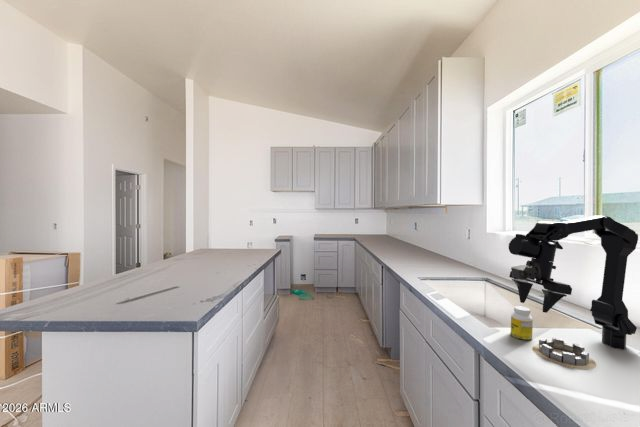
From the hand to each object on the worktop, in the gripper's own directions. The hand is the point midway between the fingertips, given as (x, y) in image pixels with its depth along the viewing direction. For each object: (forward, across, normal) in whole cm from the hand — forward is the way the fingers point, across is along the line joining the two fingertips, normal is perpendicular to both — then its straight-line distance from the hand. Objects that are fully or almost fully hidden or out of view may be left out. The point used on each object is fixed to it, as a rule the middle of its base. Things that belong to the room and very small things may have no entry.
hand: (532, 307), depth 95 cm
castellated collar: (+12, +6, +7) cm, 15 cm away
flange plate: (+13, +6, +7) cm, 16 cm away
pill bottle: (+13, -7, +4) cm, 16 cm away
